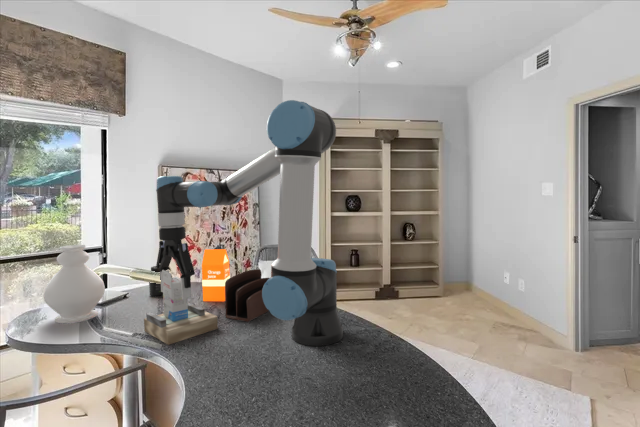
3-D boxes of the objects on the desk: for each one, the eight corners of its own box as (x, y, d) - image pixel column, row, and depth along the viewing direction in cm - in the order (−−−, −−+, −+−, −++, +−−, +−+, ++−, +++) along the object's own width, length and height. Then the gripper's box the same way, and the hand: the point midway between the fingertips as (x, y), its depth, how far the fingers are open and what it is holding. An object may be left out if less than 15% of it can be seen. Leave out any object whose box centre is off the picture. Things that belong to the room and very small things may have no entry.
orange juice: (209, 295, 154) (208, 247, 153) (230, 295, 154) (229, 247, 152) (202, 301, 146) (200, 251, 145) (224, 301, 146) (223, 250, 144)
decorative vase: (43, 316, 131) (38, 246, 130) (100, 305, 143) (96, 241, 141) (48, 330, 118) (42, 252, 116) (111, 317, 129) (107, 246, 128)
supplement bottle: (147, 295, 157) (145, 266, 156) (163, 291, 161) (162, 264, 161) (152, 298, 152) (151, 269, 151) (169, 294, 156) (168, 266, 155)
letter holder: (225, 318, 127) (223, 277, 126) (260, 302, 145) (259, 266, 144) (248, 322, 122) (247, 280, 121) (281, 305, 140) (280, 268, 139)
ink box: (189, 318, 115) (187, 271, 114) (172, 322, 112) (170, 273, 111) (179, 311, 121) (177, 266, 120) (163, 315, 118) (161, 269, 117)
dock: (217, 328, 117) (217, 309, 117) (168, 344, 105) (167, 324, 105) (192, 317, 128) (191, 300, 127) (144, 331, 116) (143, 312, 116)
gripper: (204, 227, 109) (208, 298, 110) (165, 223, 126) (168, 285, 127) (180, 229, 103) (184, 304, 104) (142, 225, 120) (146, 290, 121)
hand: (175, 294), depth 116 cm, fingers open, 13 cm apart
